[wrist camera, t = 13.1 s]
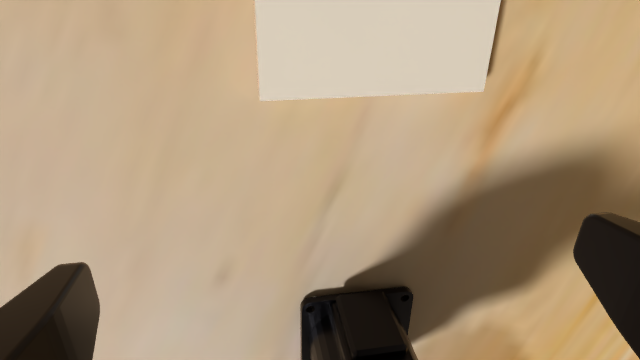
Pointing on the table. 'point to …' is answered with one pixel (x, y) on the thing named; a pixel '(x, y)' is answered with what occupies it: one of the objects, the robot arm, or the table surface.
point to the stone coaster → (372, 47)
